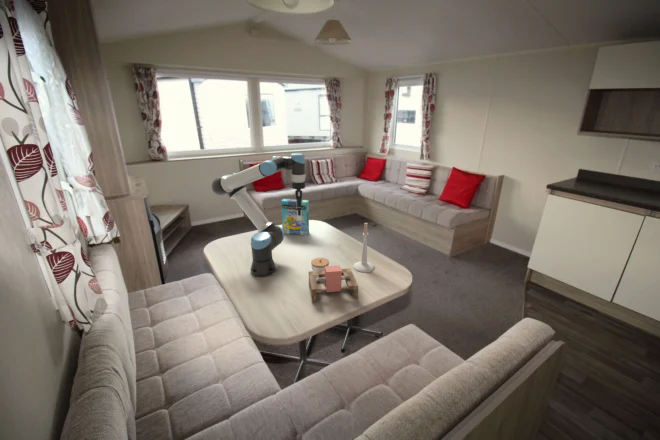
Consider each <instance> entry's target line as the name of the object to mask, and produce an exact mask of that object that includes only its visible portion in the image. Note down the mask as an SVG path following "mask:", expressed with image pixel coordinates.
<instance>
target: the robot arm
mask: <svg viewBox="0 0 660 440" xmlns="http://www.w3.org/2000/svg"><path fill="white" fill-rule="evenodd" d="M281 171H291V188H292V189H294V190H295V191H294V193H295V200H296V201H297V209H296V210H297V221H299V220H302V208H301V202H302V200H303V199H302V198H303V196H302V195H303V190H304V189H305V188H306V178H307V175H306V159H305V155H304V153H299V152H296V153H295V152H293V153H291V155H290V156H286V155H285V156H283V155H273V156H272V157H271V158H270V159H267V160H264V161H263V162H261V163H258V164H255V165H253V166H250V167H247V168H246V169H244V170H241V171H239V172H230V173H227V174H224V175H221V176H218V177H216V178H215V179H214V180H212V183H211V189H212V190H211V191H212V192H213V193H214V194H215V195H216V196H219V197H226V196H228V197H229V198H230V200H234V201H236V203H237V204H238V206H239V207H240V209H242V211H243V212H244V213H245V215H246V216H247V217H248V219H249V220H250V222H252V224H253V226H254V227H256V229H257V230H258V231H257V232H256V233H255V234H253V235H252V236H251V238H250V247H251V257H252V261H251V265H250V274H251V275H252V276H254V277H258V278H263V277H269V276H272V275H273V274H275V273H276V272H277V266H276V264H275V261H274V258H273V250H274V249H276V248H277V247H278V246H279V245H281V244H282V242H283V241H284V240H285V234H284V231H283V229H282V226H280V225H276V224H275V223H274V222H272V221H269V219H268V218H267V217H266V215H265V214H264V213H263V211H262V210H261V209H260V208H259V207H258V205H257V204H256V202H255V201H254V200H253V199H252V197H251V195H249V193H248V192H247V187H246V185H248V184H250V183H253V182H255V181H258V180H260V179H264V178H266V177H268V176H272V175H274V174H275V173H278V172H281ZM302 189H303V190H302Z"/></svg>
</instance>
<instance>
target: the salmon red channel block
mask: <svg viewBox="0 0 660 440" xmlns="http://www.w3.org/2000/svg"><path fill="white" fill-rule="evenodd" d="M341 269H342V268H341V266H340V265H329V266H325V277H326V281H324V288H325V292H326V293H331V292H332V293H333V292H341V291H342V282H343V281H342V270H341Z"/></svg>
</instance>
